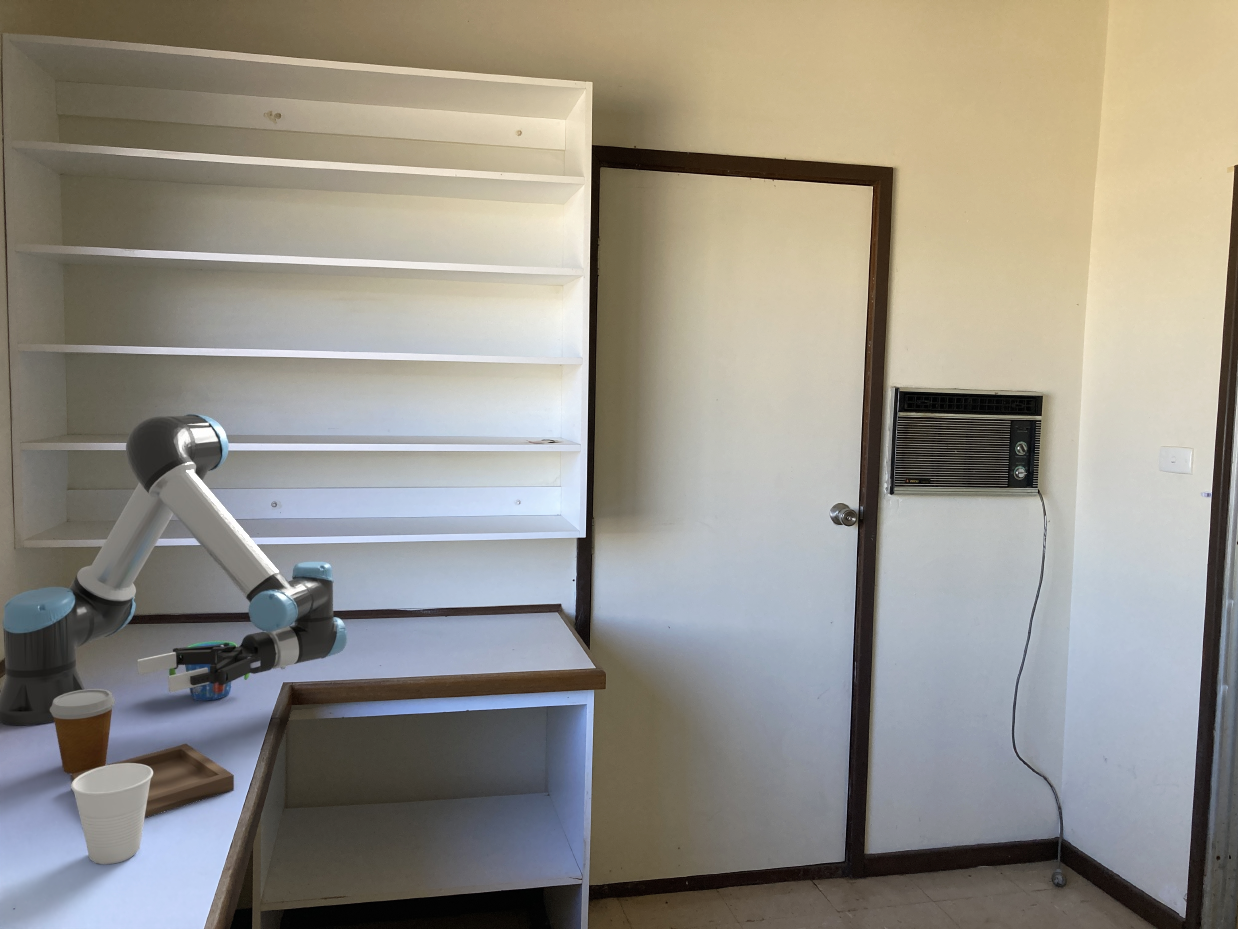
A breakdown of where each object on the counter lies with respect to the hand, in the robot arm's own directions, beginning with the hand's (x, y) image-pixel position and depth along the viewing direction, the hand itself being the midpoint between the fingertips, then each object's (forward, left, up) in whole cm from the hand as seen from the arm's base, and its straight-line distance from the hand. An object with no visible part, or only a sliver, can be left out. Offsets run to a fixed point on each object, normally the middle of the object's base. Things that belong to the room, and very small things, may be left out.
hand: (153, 675), depth 162 cm
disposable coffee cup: (-1, -11, -14) cm, 18 cm away
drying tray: (+16, -7, -13) cm, 22 cm away
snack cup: (-21, +19, -14) cm, 31 cm away
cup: (+33, -18, -14) cm, 40 cm away
